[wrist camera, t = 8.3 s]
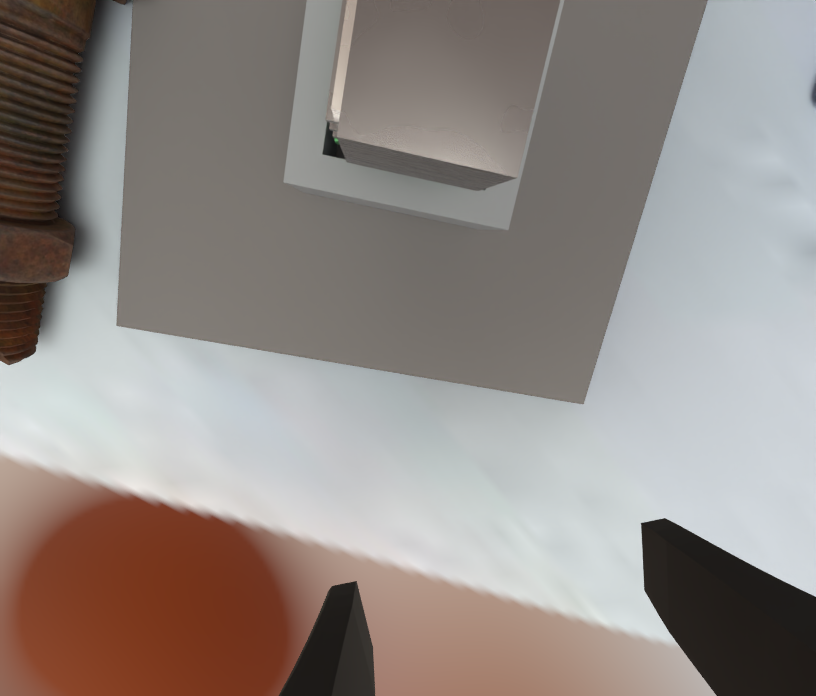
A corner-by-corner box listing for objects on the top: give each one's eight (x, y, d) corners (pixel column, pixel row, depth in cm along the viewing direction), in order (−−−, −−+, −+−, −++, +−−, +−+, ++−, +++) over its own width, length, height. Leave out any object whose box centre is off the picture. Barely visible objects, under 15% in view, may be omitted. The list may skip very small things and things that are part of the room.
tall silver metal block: (508, 2, 14) (672, -267, 6) (463, 206, 15) (554, 186, 8) (367, -37, 13) (361, -381, 6) (334, 178, 15) (295, 127, 7)
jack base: (728, -107, 17) (885, -254, 12) (575, 397, 22) (640, 452, 16) (161, -292, 15) (44, -579, 9) (126, 322, 19) (35, 356, 14)
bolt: (31, 322, 21) (89, -50, 17) (101, 370, 19) (181, -33, 16) (-167, 330, 16) (-145, -205, 12) (-95, 396, 14) (-44, -204, 10)
